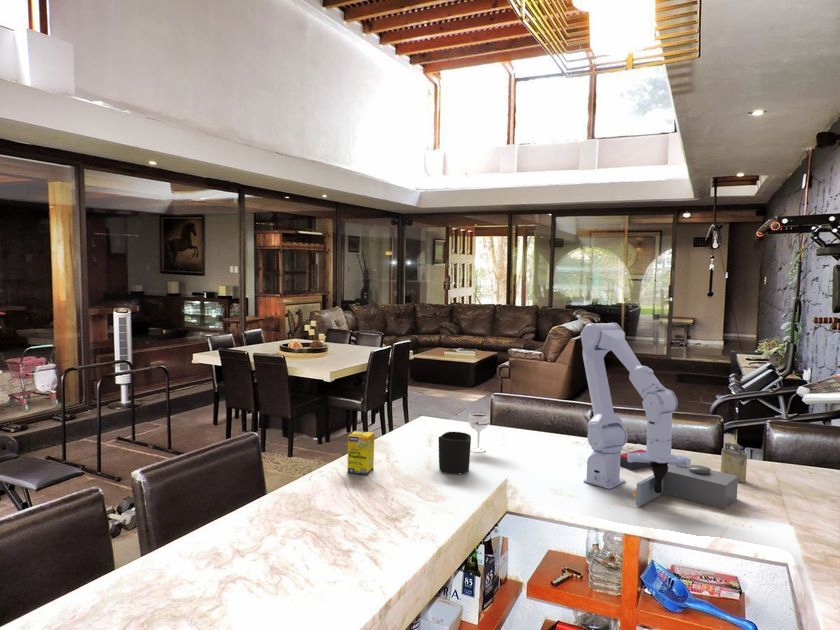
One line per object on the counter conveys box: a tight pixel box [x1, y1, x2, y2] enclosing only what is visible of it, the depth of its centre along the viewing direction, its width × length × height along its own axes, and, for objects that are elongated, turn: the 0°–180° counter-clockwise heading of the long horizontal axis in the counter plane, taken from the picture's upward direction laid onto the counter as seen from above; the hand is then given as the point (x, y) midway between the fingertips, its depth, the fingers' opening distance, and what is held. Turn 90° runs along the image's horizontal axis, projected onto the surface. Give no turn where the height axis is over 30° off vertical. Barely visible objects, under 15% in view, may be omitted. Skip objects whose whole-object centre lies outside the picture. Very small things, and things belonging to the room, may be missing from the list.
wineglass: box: [468, 411, 490, 451], centre depth 184 cm, size 7×7×12 cm
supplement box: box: [347, 430, 375, 476], centre depth 161 cm, size 6×6×11 cm
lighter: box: [719, 442, 748, 484], centre depth 161 cm, size 7×4×10 cm, turn 28°
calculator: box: [620, 443, 651, 471], centre depth 175 cm, size 11×4×15 cm
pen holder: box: [438, 431, 472, 475], centre depth 165 cm, size 9×9×10 cm
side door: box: [632, 474, 665, 507], centre depth 145 cm, size 2×14×6 cm, turn 134°
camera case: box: [663, 464, 739, 510], centre depth 148 cm, size 10×16×7 cm, turn 46°
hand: (657, 491), depth 142 cm, fingers closed, pressing on side door
